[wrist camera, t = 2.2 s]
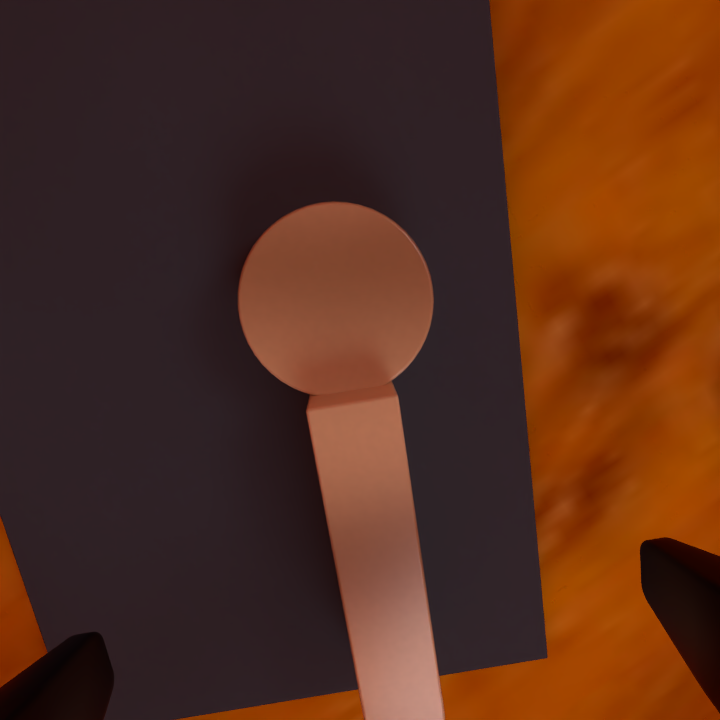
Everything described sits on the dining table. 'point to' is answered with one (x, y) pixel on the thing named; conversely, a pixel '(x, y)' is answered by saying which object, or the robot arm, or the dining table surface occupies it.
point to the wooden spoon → (355, 423)
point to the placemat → (228, 343)
